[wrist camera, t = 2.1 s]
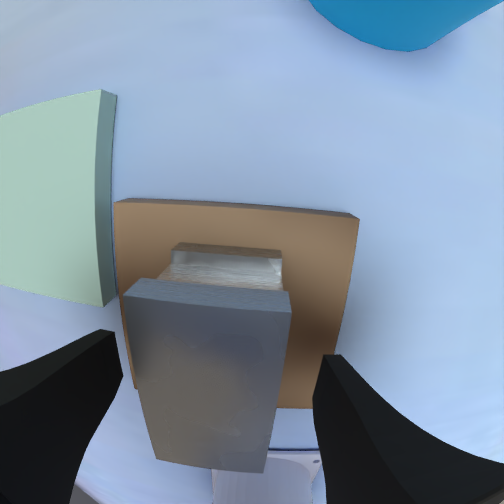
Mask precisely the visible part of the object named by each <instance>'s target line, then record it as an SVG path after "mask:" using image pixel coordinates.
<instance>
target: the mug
mask: <svg viewBox="0 0 504 504" xmlns="http://www.w3.org/2000/svg"><path fill="white" fill-rule="evenodd" d="M309 1H310V2H311V4H312V5H313V6H314V8H315V9H316V11H318V12H319V13H320V14H321V15H323V16H324V17H325V18H326V19H328V20H329V21H330V22H331V23H332V24H333V25H335V26H336V27H337V28H339V29H341V30H343V31H345V32H346V33H348V34H350V35H352V36H353V37H355V38H357V39H359V40H360V41H363V42H366V43H369V44H372V45H375V46H378V47H381V48H384V49H388V50H398V51H406V52H409V51H414V50H419V49H423V48H427V47H428V46H430V45H431V44H433V43H434V42H436V41H437V40H439V39H440V38H442V37H444V36H445V35H447V34H448V33H450V32H451V31H453V30H455V29H456V28H458V27H459V26H461V25H463V24H464V23H466V22H468V21H469V20H471V19H473V18H474V17H476V16H478V15H479V14H481V13H483V12H485V11H486V10H488V9H490V8H492V7H493V6H495V5H497V4H499V3H501V2H502V1H504V0H309Z"/></svg>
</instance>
